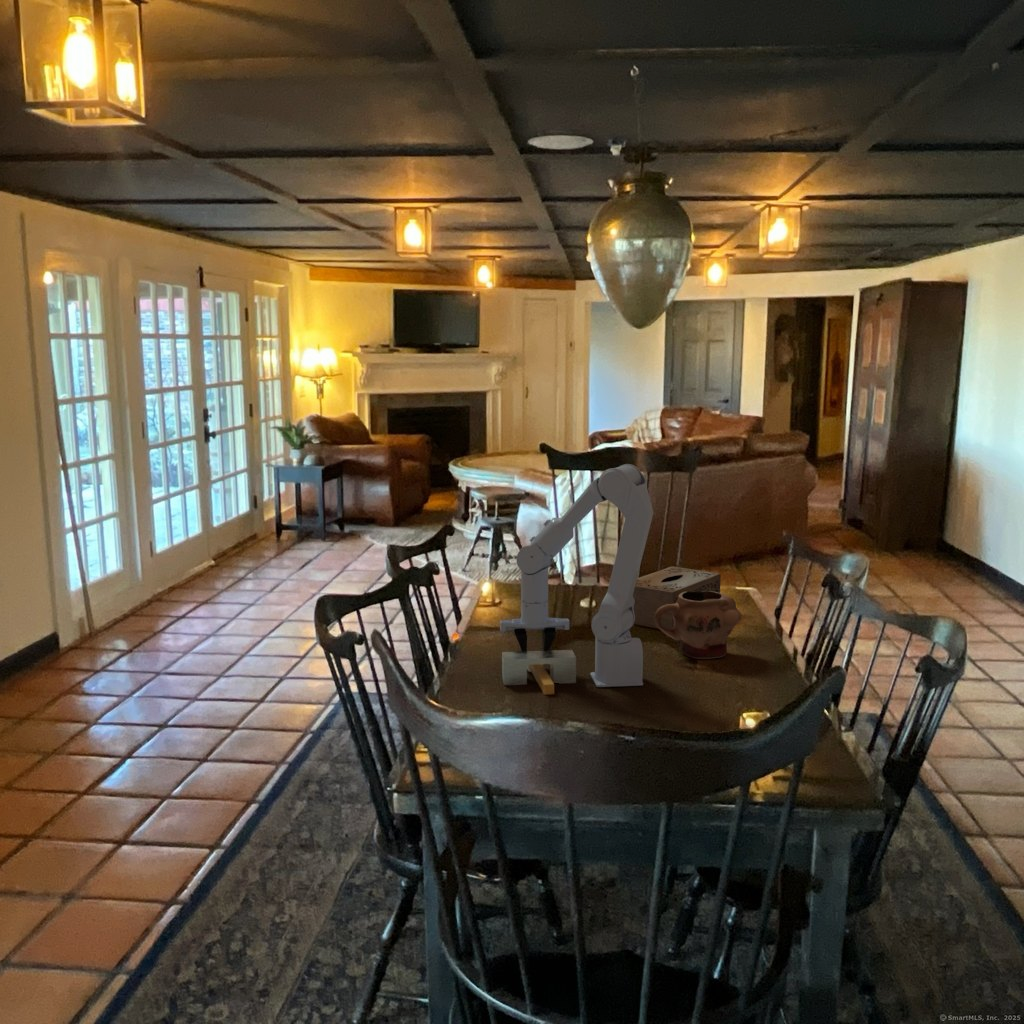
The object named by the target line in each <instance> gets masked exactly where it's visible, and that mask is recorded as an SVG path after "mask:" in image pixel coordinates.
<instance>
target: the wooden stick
mask: <svg viewBox="0 0 1024 1024" xmlns="http://www.w3.org/2000/svg"><path fill="white" fill-rule="evenodd" d="M544 665H545V664H531V665H527V673H528V672H529V673H532V675H533V678H534V679H535V681H536V683H537V684H538V686H539V688H540V689H541V692H542V693H543V695H544V696H545V695H555V684H554V683H553V681H552V679H551V677H550V674H549V673H548V672H547V670H546V668H545V667H544Z"/></svg>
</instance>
